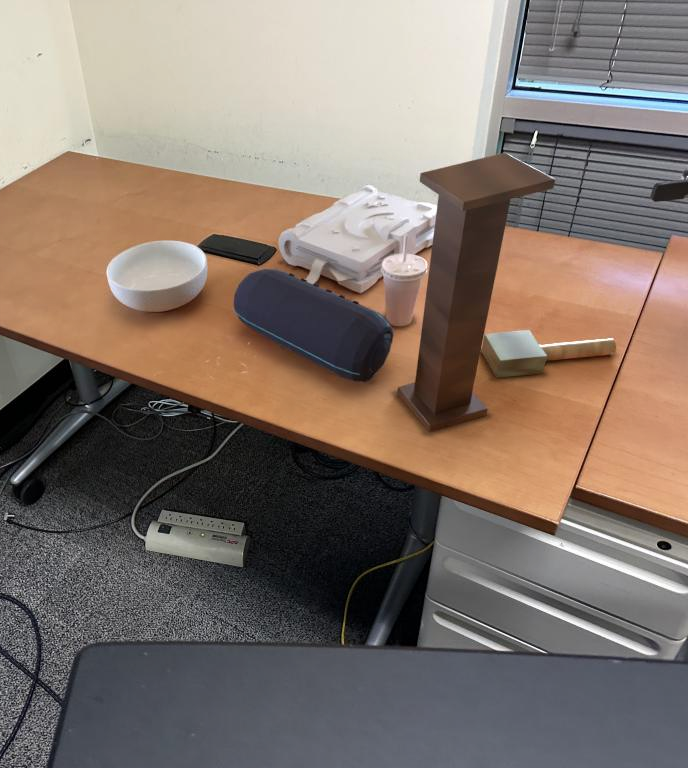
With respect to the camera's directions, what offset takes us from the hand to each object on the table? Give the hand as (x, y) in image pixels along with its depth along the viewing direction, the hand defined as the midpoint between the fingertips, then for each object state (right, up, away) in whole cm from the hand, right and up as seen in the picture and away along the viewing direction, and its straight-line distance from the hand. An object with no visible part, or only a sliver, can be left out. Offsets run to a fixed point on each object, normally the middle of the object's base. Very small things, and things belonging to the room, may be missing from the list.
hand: (673, 207), depth 79 cm
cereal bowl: (-60, -6, +38) cm, 72 cm away
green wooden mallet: (-7, -17, +14) cm, 23 cm away
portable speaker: (-38, -16, +22) cm, 46 cm away
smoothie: (-24, -11, +25) cm, 36 cm away
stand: (-22, -23, +10) cm, 33 cm away
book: (-27, +2, +41) cm, 49 cm away
